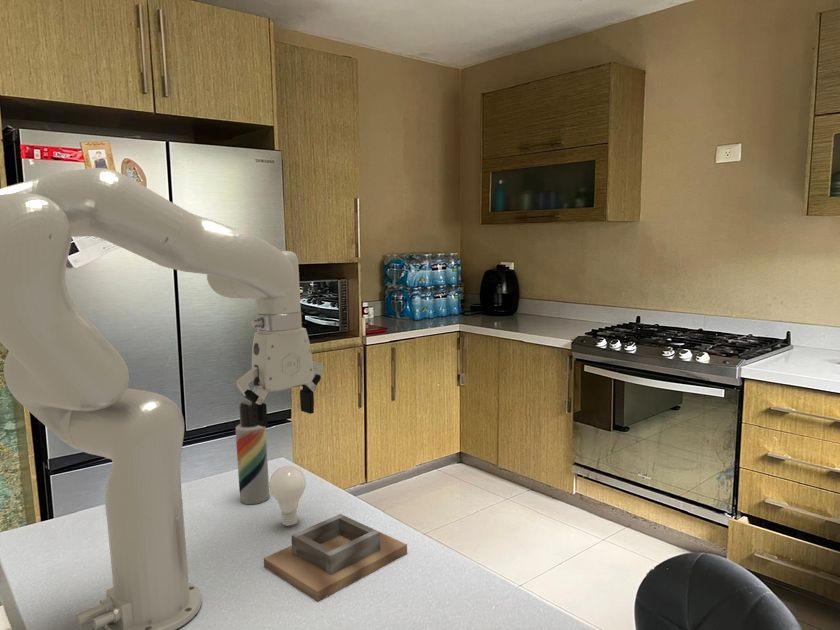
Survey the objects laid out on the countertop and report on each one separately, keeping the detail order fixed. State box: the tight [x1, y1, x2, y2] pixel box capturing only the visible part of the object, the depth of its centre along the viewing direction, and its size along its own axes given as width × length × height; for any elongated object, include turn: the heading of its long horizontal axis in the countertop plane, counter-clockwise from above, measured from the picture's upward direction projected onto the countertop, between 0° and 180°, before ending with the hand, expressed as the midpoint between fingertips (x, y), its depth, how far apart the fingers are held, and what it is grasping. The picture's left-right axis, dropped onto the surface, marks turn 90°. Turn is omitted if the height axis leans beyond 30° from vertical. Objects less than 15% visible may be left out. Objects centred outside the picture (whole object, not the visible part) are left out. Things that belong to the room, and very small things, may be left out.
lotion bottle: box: [235, 400, 270, 505], centre depth 123 cm, size 6×6×20 cm
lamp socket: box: [263, 513, 408, 602], centre depth 100 cm, size 18×14×4 cm
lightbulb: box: [269, 465, 307, 527], centre depth 112 cm, size 6×6×11 cm
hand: (284, 418), depth 110 cm, fingers open, 9 cm apart
